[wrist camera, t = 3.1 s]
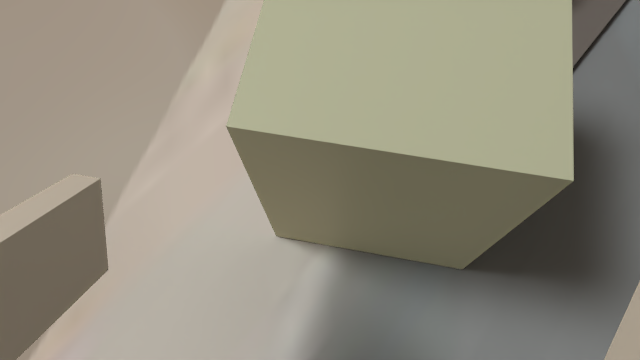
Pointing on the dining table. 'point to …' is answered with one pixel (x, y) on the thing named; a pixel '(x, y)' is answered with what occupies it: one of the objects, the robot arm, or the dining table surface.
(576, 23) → the mat
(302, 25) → the sage green cube
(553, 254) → the dining table surface
